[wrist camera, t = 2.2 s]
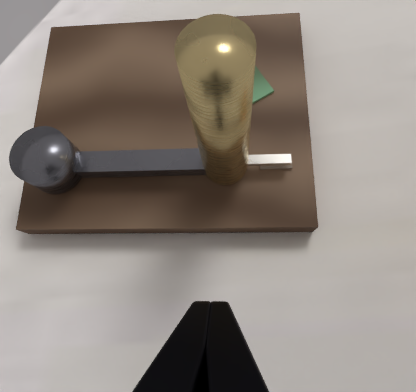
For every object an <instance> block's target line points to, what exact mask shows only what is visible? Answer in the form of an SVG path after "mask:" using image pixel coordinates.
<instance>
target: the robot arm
mask: <svg viewBox="0 0 416 392" xmlns="http://www.w3.org/2000/svg"><path fill="white" fill-rule="evenodd" d="M132 392H269V391H268V388H267V386H266V384H265V382H264V380H263V377H262V375H261V373H260V371H259V369H258V366H257V364H256V362H255V360H254V358H253V355H252V353H251V351H250V349H249V347H248V345H247V342H246V340H245V338H244V336H243V334H242V331H241V329H240V327H239V325H238V323H237V320H236V318H235V316H234V314H233V312H232V309H231V307H230V305H229V303H228V302H220V301H213V302H209V301H195V302H193V303H192V305H191V306H190V308H189V309H188V310H187V312H186V313H185V315H184V316H183V318H182V319H181V321H180V322H179V324H178V325H177V327H176V328H175V330H174V331H173V333H172V334H171V335H170V337H169V338H168V340H167V341H166V343H165V344H164V346H163V347H162V349H161V350H160V352H159V353H158V355H157V356H156V358H155V359H154V361H153V362H152V363H151V365H150V366H149V368H148V369H147V371H146V372H145V374H144V375H143V377H142V378H141V380H140V381H139V383H138V384H137V386H136V387H135V388H134V390H133V391H132Z"/></svg>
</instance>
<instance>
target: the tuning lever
mask: <svg viewBox="0 0 416 392" xmlns="http://www.w3.org/2000/svg"><path fill="white" fill-rule="evenodd" d="M174 52H175V58H176V62H177V66H178V70H179V74H180V78H181V82H182V86H183V90H184V93H185V97H186V101H187V105H188V109H189V113H190V117H191V121H192V125H193V128H194V132H195V136H196V140H197V144H198V148H186V149H150V150H113V151H80V150H79V149H78V148H77V147H76V146H75V145H74V144H73V143H72V142H71V141H70V140H69V139H68V138H67V137H65V136H64V135H63V134H62V133H61V132H60V131H59V130H57V129H55V128H53V127H49V126H39V127H35V128H32V129H30V130H28V131H26V132H24V133H23V134H22V135H21V136H20V137H19V138H18V139H17V140H16V141H15V143H14V144H13V146H12V148H11V151H10V156H9V162H10V167H11V169H12V171H13V173H14V174H15V175H16V176H17V177H19V178H20V179H22V180H24V181H25V182H27V183H29V184H31V185H32V186H34V187H36V188H38V189H40V190H41V191H43V192H45V193H48V194H61V193H64V192H67V191H69V190H70V189H72V188H73V187H75V186H76V185H77V184H78V182H79V181H80V180H81V178H89V177H137V176H184V175H207V177H208V178H209V179H210V180H211V181H213V182H214V183H217V184H220V185H231V184H234V183H236V182H238V181H239V180H241V179H242V178H243V176H244V175H245V173H246V171H247V167H248V166H286V165H291V163H292V161H291V154H261V155H248V154H249V141H250V127H251V114H252V101H253V87H254V74H255V60H256V39H255V36H254V34H253V32H252V30H251V29H250V28H249V26H248V25H247V24H245V23H244V22H243V21H241V20H240V19H238V18H235V17H233V16H229V15H223V14H213V15H207V16H203V17H200V18H198V19H196V20H194V21H192V22H191V23H189V24H188V25H187V26H186V27H185V28H184V29H183V30H182V31H181V32H180V34H179V36H178V37H177V40H176V43H175V49H174Z"/></svg>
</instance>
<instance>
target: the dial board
mask: <svg viewBox="0 0 416 392" xmlns="http://www.w3.org/2000/svg"><path fill="white" fill-rule="evenodd" d="M235 18H238V19H240V20H241V21H243V22H244V23H245V24H247V25H248V26H249V28H250V29H251V30H252V32H253V34H254V36H255V39H256V60H255V74H254V87H253V101H252V114H251V127H250V141H249V154H248V155H261V154H291V161H292V163H291V165H286V166H248V167H247V171H246V173H245V175H244V176H243V178H242V179H241V180H239V181H238V182H236V183H234V184H231V185H220V184H217V183H214V182H213V181H211V180H210V179H209V178H208V177H207V175H184V176H137V177H89V178H81V180H80V181H79V182H78V184H77V185H76V186H75V187H73V188H72V189H70V190H69V191H67V192H64V193H61V194H48V193H45V192H43V191H41V190H40V189H38V188H36V187H34V186H32V185H31V184H29V183H27V182H25V181H24V186H23V192H22V198H21V203H20V209H19V215H18V220H17V226H16V230H19V231H22V232H25V233H28V234H79V233H216V232H313V231H314V230H315V229H316V228H318V220H317V208H316V197H315V185H314V174H313V162H312V151H311V139H310V128H309V117H308V105H307V94H306V82H305V71H304V59H303V48H302V36H301V25H300V13H288V14H271V15H254V16H237V17H235ZM194 20H196V19H186V20H169V21H152V22H135V23H118V24H101V25H84V26H67V27H51V32H50V38H49V44H48V49H47V55H46V61H45V66H44V72H43V78H42V84H41V89H40V95H39V101H38V106H37V112H36V118H35V123H34V128H35V127H39V126H49V127H53V128H55V129H57V130H59V131H60V132H61V133H62V134H63V135H64V136H65V137H67V138H68V139H69V140H70V141H71V142H72V143H73V144H74V145H75V146H76V147H77V148H78V149H79V150H80V151H113V150H150V149H186V148H198V144H197V140H196V136H195V132H194V128H193V125H192V121H191V117H190V113H189V109H188V105H187V101H186V97H185V93H184V90H183V86H182V82H181V78H180V74H179V70H178V66H177V62H176V58H175V52H174V49H175V43H176V40H177V37H178V36H179V34H180V32H181V31H182V30H183V29H184V28H185V27H186V26H187V25H188V24H189V23H191V22H192V21H194Z"/></svg>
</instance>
